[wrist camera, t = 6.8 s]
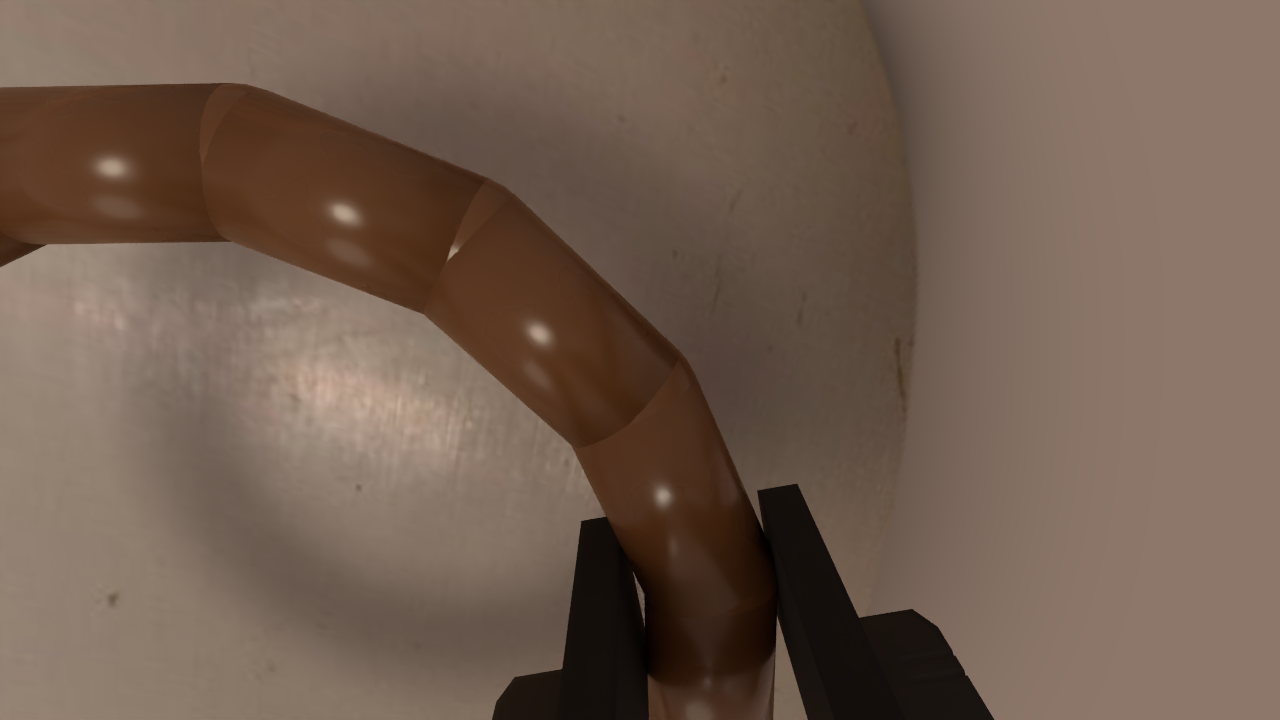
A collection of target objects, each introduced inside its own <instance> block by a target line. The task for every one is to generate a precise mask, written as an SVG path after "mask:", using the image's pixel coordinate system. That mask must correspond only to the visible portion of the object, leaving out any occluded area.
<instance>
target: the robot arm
mask: <svg viewBox="0 0 1280 720" xmlns="http://www.w3.org/2000/svg"><path fill="white" fill-rule="evenodd" d="M757 492H758V498H759V505H760V511H761V517H762V523H763V530H764V534H765V537H766V539H767V541H768V544H769V546H770V549H771V553H772V557H773V561H774V566H775V572H776V577H777V585H778V597H777V616H778V620H779V623H780V626H781V630H782V633H783V637H784V640H785V643H786V647H787V650H788V654H789V657H790V660H791V664H792V667H793V671H794V674H795V677H796V681H797V684H798V688H799V691H800V694H801V698H802V701H803V705H804V708H805V711H806V715H807V718H808V720H994V718H993V717H992V715H991V714H990V712H989V710H988V709H987V707H986V705H985V704H984V702H983V700H982V699H981V697H980V696H979V694H978V692H977V690H976V689H975V687H974V686H973V684H972V682H971V681H970V679H969V678H968V676H966V675H965V672H964V669H963V667H962V666H961V664H960V663H959V661H958V659H957V658H956V656H954V655H953V652H952V649H951V648H950V646H949V644H948V643H947V641H946V640H945V638H944V636H943V635H942V633H941V631H940V630H939V628H938V627H937V626H936V625H934V624H933V623H931V622H930V621H928V620H927V619H926V618H924V617H923V616H921V615H920V614H918V613H917V612H916V611H914V610H913V609H909V610H903V611H897V612H891V613H885V614H879V615H873V616H867V617H861V618H859V617H858V615H857V613H856V611H855V609H854V607H853V604H852V602H851V600H850V598H849V596H848V593H847V591H846V589H845V587H844V585H843V583H842V580H841V578H840V576H839V574H838V572H837V569H836V567H835V565H834V563H833V561H832V559H831V556H830V554H829V552H828V550H827V548H826V545H825V543H824V541H823V539H822V537H821V535H820V532H819V530H818V528H817V526H816V524H815V521H814V519H813V517H812V515H811V513H810V511H809V508H808V506H807V504H806V502H805V500H804V497H803V495H802V493H801V491H800V489H799V487H798V484H792V485H786V486H781V487H775V488H769V489H763V490H757ZM492 720H649V702H648V672H647V665H646V652H645V626H644V622H643V617H642V612H641V607H640V603H639V598H638V593H637V589H636V584H635V579H634V575H633V570H632V568H631V566H630V564H629V562H628V560H627V558H626V556H625V554H624V552H623V550H622V548H621V546H620V543H619V541H618V539H617V537H616V535H615V533H614V531H613V529H612V527H611V525H610V523H609V521H608V519H607V517H602V518H596V519H590V520H585V521H581V528H580V536H579V544H578V552H577V560H576V567H575V575H574V583H573V591H572V598H571V606H570V614H569V622H568V629H567V637H566V645H565V653H564V660H563V668H562V669H561V670H555V671H549V672H543V673H537V674H531V675H525V676H519V677H514V679H513V680H512V681H511V683H510V684H509V685H508V687H507V688H506V690H505V691H504V692H503V694H502V695H501V696H500V698H499V699H498V700H497V702H496V705H495V710H494V714H493V718H492Z"/></svg>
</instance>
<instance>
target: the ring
mask: <svg viewBox="0 0 1280 720" xmlns="http://www.w3.org/2000/svg"><path fill="white" fill-rule="evenodd" d="M174 242H234V243H237V244H240V245H242V246H245V247H248V248H250V249H253V250H255V251H258V252H261V253H263V254H266V255H269V256H271V257H274V258H277V259H279V260H282V261H284V262H287V263H290V264H292V265H295V266H298V267H300V268H303V269H305V270H308V271H311V272H313V273H316V274H319V275H321V276H324V277H327V278H329V279H332V280H334V281H337V282H340V283H342V284H345V285H348V286H350V287H353V288H355V289H358V290H361V291H363V292H366V293H369V294H371V295H374V296H377V297H379V298H382V299H384V300H387V301H390V302H392V303H395V304H398V305H400V306H403V307H405V308H408V309H411V310H413V311H416V312H419V313H421V314H424V315H425V316H426V317H427V318H428V319H430V320H431V321H432V322H433V323H434V324H435V325H436V326H437V327H439V328H440V329H441V330H442V331H443V332H444V333H445V334H446V335H448V336H449V337H450V338H451V339H452V340H453V341H454V342H455V343H457V344H458V345H459V346H460V347H461V348H462V349H463V350H464V351H466V352H467V353H468V354H469V355H470V356H471V357H472V358H474V359H475V360H476V361H477V362H478V363H479V364H480V365H481V366H483V367H484V368H485V369H486V370H487V371H488V372H489V373H490V374H492V375H493V376H494V377H495V378H496V379H497V380H498V381H499V382H501V383H502V384H503V385H504V386H505V387H506V388H507V389H508V390H510V391H511V392H512V393H513V394H514V395H515V396H516V397H517V398H519V399H520V400H521V401H522V402H523V403H524V404H525V405H527V406H528V407H529V408H530V409H531V410H532V411H533V412H534V413H536V414H537V415H538V416H539V417H540V418H541V419H542V420H543V421H545V422H546V423H547V424H548V425H549V426H550V427H551V428H552V429H554V430H555V431H556V432H557V433H558V434H559V435H560V436H561V437H563V438H564V439H565V440H566V441H567V442H568V443H569V444H571V446H572V448H573V450H574V452H575V454H576V456H577V458H578V460H579V462H580V464H581V466H582V468H583V470H584V472H585V474H586V476H587V478H588V480H589V482H590V484H591V486H592V488H593V491H594V493H595V495H596V497H597V499H598V501H599V503H600V505H601V507H602V509H603V511H604V513H605V515H606V517H607V519H608V521H609V523H610V525H611V527H612V529H613V531H614V533H615V535H616V537H617V539H618V541H619V543H620V546H621V548H622V550H623V552H624V554H625V556H626V558H627V560H628V562H629V564H630V566H631V568H632V570H633V572H634V574H635V576H636V578H637V580H638V582H639V584H640V586H641V588H642V590H643V592H644V595H645V652H646V665H647V672H648V702H649V720H773V708H774V680H775V652H776V625H777V597H778V585H777V577H776V572H775V566H774V561H773V557H772V553H771V549H770V546H769V544H768V541H767V539H766V537H765V534H764V532H763V530H762V527H761V525H760V523H759V520H758V518H757V516H756V514H755V511H754V509H753V507H752V504H751V502H750V500H749V497H748V495H747V493H746V491H745V488H744V486H743V484H742V481H741V479H740V477H739V474H738V472H737V470H736V467H735V465H734V463H733V461H732V458H731V456H730V454H729V451H728V449H727V447H726V444H725V442H724V440H723V438H722V435H721V433H720V431H719V428H718V426H717V424H716V421H715V419H714V417H713V414H712V412H711V410H710V408H709V405H708V403H707V401H706V398H705V396H704V394H703V391H702V389H701V387H700V385H699V382H698V380H697V378H696V375H695V373H694V371H693V369H692V368H691V366H690V364H689V362H688V361H687V359H686V358H685V357H684V356H683V354H682V353H681V352H680V351H679V350H678V349H677V348H676V347H675V346H674V345H673V344H672V343H671V342H670V341H669V340H668V339H667V338H666V337H665V336H663V335H662V334H661V333H660V332H659V331H658V330H657V329H656V328H655V327H654V326H653V325H652V324H651V323H650V322H649V321H648V320H647V319H646V318H644V317H643V316H642V315H641V314H640V313H639V312H638V311H637V310H636V309H635V308H634V307H633V306H632V305H631V304H630V303H629V302H628V301H627V300H625V299H624V298H623V297H622V296H621V295H620V294H619V293H618V292H617V291H616V290H615V289H614V288H613V287H612V286H611V285H610V284H609V283H608V282H606V281H605V280H604V279H603V278H602V277H601V276H600V275H599V274H598V273H597V272H596V271H595V270H594V269H593V268H592V267H591V266H590V265H589V264H587V263H586V262H585V261H584V260H583V259H582V258H581V257H580V256H579V255H578V254H577V253H576V252H575V251H574V250H573V249H572V248H571V247H570V246H569V245H567V244H566V243H565V242H564V241H563V240H562V239H561V238H560V237H559V236H558V235H557V234H556V233H555V232H554V231H553V230H552V229H551V228H550V227H548V226H547V225H546V224H545V223H544V222H543V221H542V220H541V219H540V218H539V217H538V216H537V215H536V214H535V213H534V212H533V211H532V210H531V209H529V208H528V207H527V206H526V205H525V204H524V203H523V202H522V201H521V200H520V199H519V198H518V197H517V196H516V195H515V194H513V193H512V192H511V191H509V190H508V189H507V188H506V187H504V186H503V185H501V184H499V183H497V182H495V181H493V180H491V179H489V178H486V177H484V176H481V175H479V174H476V173H474V172H471V171H469V170H466V169H464V168H461V167H459V166H456V165H453V164H451V163H448V162H446V161H443V160H441V159H438V158H436V157H433V156H431V155H428V154H426V153H423V152H421V151H418V150H416V149H413V148H411V147H408V146H406V145H403V144H401V143H398V142H396V141H393V140H391V139H388V138H386V137H383V136H381V135H378V134H376V133H373V132H371V131H368V130H366V129H363V128H361V127H358V126H356V125H353V124H351V123H348V122H345V121H343V120H340V119H338V118H335V117H333V116H330V115H328V114H325V113H323V112H320V111H318V110H315V109H313V108H310V107H308V106H305V105H303V104H300V103H298V102H295V101H293V100H290V99H288V98H285V97H283V96H280V95H278V94H275V93H273V92H270V91H268V90H264V89H260V88H257V87H253V86H250V85H247V84H235V83H212V84H159V85H107V86H54V87H2V88H0V267H2V266H4V265H6V264H8V263H10V262H12V261H14V260H16V259H18V258H20V257H22V256H24V255H27V254H29V253H31V252H33V251H35V250H37V249H39V248H41V247H43V246H45V245H47V244H104V243H174Z"/></svg>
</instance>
